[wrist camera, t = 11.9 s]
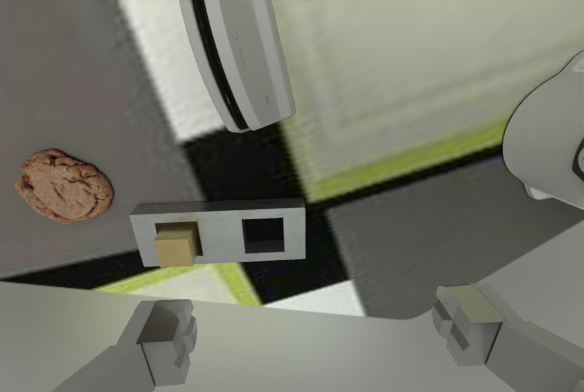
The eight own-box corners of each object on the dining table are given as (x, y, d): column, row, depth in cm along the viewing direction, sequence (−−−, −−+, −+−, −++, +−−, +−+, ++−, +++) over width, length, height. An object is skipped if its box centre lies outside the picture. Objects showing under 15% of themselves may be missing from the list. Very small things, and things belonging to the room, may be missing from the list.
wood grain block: (199, 214, 41) (187, 238, 35) (203, 239, 43) (192, 265, 37) (169, 215, 41) (153, 240, 35) (175, 240, 42) (160, 267, 37)
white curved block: (297, 115, 36) (268, 142, 27) (261, 121, 37) (224, 149, 29) (258, -56, 29) (204, -90, 20) (217, -39, 30) (151, -63, 22)
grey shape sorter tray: (303, 197, 40) (305, 207, 38) (303, 246, 44) (305, 258, 41) (139, 204, 40) (129, 215, 37) (152, 253, 43) (144, 266, 40)
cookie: (123, 216, 41) (113, 228, 38) (44, 220, 40) (27, 232, 38) (101, 145, 36) (87, 153, 34) (12, 149, 36) (-9, 157, 33)
